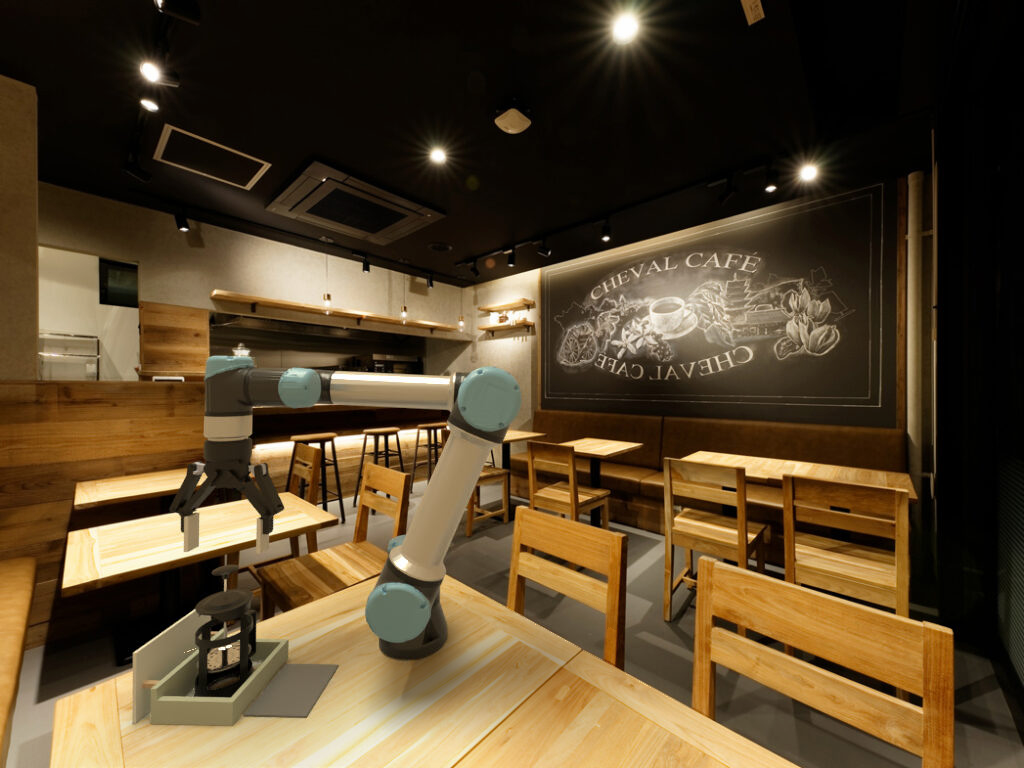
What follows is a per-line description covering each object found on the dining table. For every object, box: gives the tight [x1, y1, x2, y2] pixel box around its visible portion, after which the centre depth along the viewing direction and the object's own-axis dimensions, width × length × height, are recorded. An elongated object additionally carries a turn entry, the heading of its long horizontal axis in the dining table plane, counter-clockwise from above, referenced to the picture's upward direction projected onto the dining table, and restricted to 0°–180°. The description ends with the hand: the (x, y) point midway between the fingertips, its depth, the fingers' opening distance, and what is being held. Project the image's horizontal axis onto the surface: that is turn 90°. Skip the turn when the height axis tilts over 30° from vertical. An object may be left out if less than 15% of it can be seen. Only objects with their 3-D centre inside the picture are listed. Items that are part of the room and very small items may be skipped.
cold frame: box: [131, 608, 290, 727], centre depth 78 cm, size 17×17×12 cm
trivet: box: [242, 662, 340, 719], centre depth 78 cm, size 11×13×1 cm
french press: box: [192, 564, 257, 698], centre depth 78 cm, size 12×9×23 cm
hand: (226, 550), depth 78 cm, fingers open, 13 cm apart
